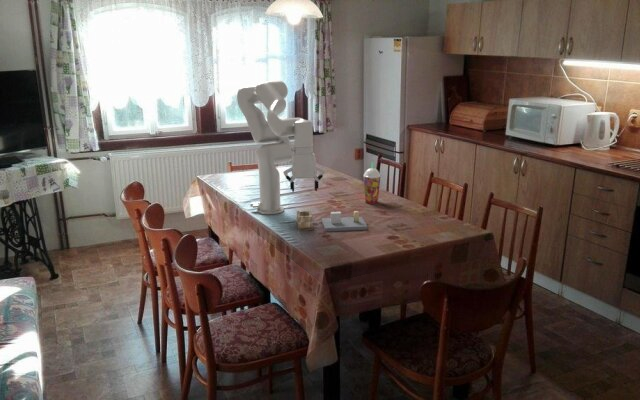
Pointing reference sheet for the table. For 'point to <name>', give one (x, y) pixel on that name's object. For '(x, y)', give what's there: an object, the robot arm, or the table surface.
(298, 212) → the sleeve
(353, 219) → the pin board
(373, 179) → the smoothie
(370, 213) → the table surface
